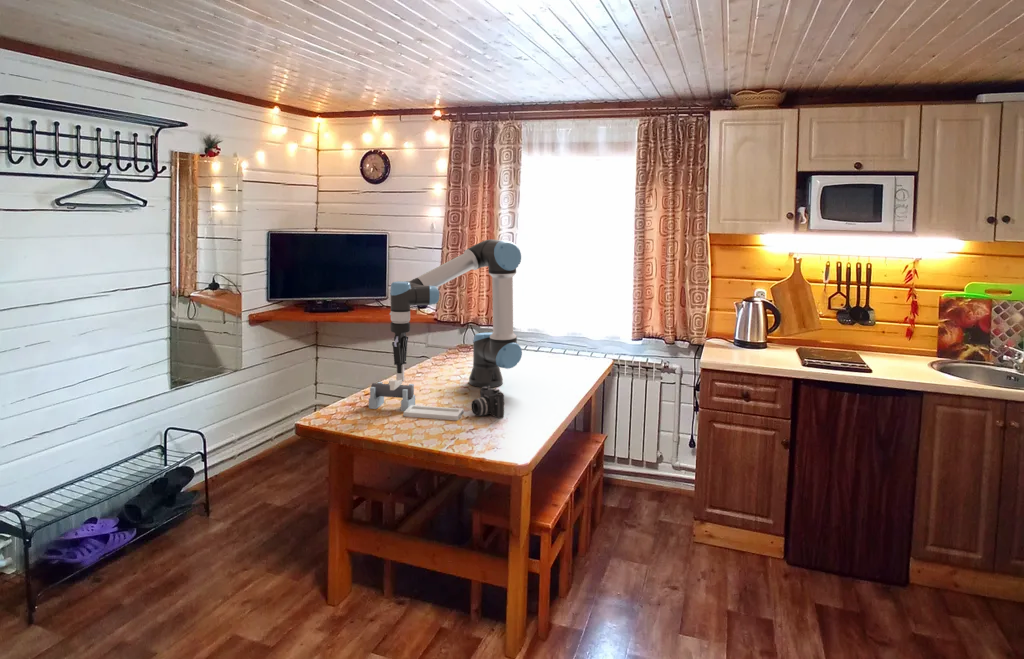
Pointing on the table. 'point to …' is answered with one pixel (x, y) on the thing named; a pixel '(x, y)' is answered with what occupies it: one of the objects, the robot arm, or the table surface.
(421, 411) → the tray
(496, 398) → the camera
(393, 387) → the white l-shaped hook
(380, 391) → the gray cylinder
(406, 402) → the cradle
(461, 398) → the table surface
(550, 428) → the table surface
